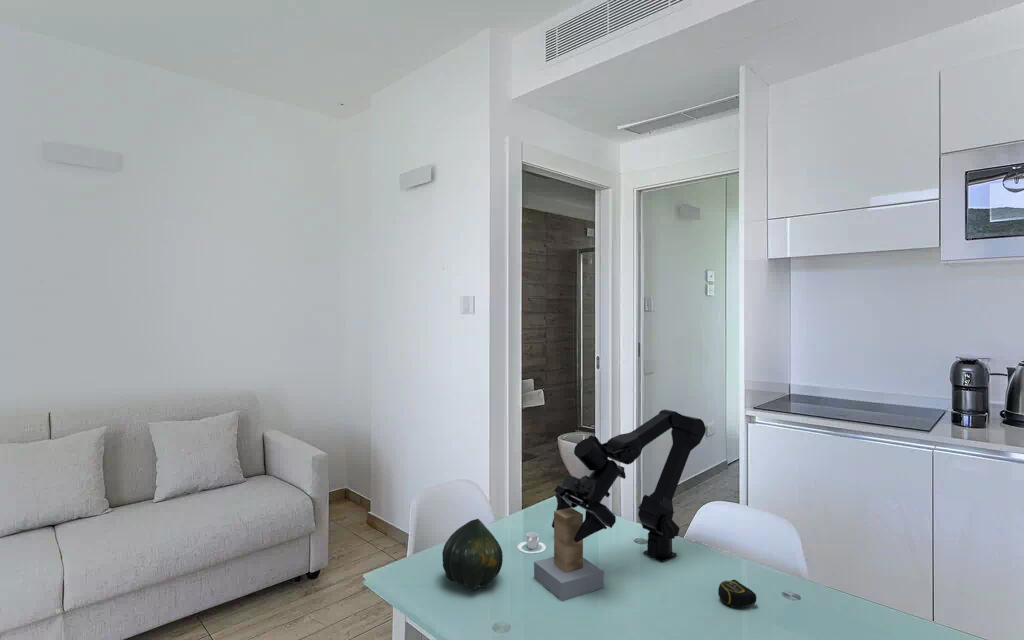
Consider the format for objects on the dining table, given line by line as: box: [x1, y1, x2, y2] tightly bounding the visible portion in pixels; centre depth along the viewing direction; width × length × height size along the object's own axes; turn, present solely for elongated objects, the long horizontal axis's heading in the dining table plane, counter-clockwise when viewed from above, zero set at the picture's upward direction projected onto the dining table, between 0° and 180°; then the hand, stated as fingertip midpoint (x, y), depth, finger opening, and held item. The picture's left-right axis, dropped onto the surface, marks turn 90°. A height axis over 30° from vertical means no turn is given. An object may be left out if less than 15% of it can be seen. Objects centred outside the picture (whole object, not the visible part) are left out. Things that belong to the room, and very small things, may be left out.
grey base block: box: [533, 556, 605, 602], centre depth 129 cm, size 12×12×4 cm
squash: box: [441, 518, 504, 591], centre depth 130 cm, size 14×15×15 cm
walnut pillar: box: [553, 508, 584, 573], centre depth 128 cm, size 5×5×13 cm
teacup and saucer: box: [517, 531, 547, 555], centre depth 149 cm, size 9×8×4 cm
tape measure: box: [717, 579, 757, 608], centre depth 120 cm, size 7×7×4 cm
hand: (563, 534), depth 128 cm, fingers open, 9 cm apart
